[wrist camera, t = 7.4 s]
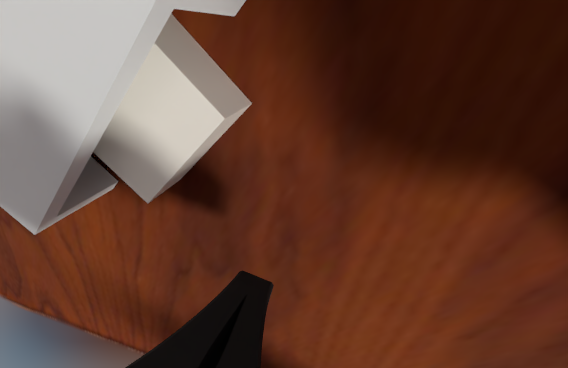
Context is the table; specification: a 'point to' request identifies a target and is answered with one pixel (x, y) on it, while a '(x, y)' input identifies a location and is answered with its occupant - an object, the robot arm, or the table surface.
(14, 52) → the slotted white box
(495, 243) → the table surface
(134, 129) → the cream rectangular beam
